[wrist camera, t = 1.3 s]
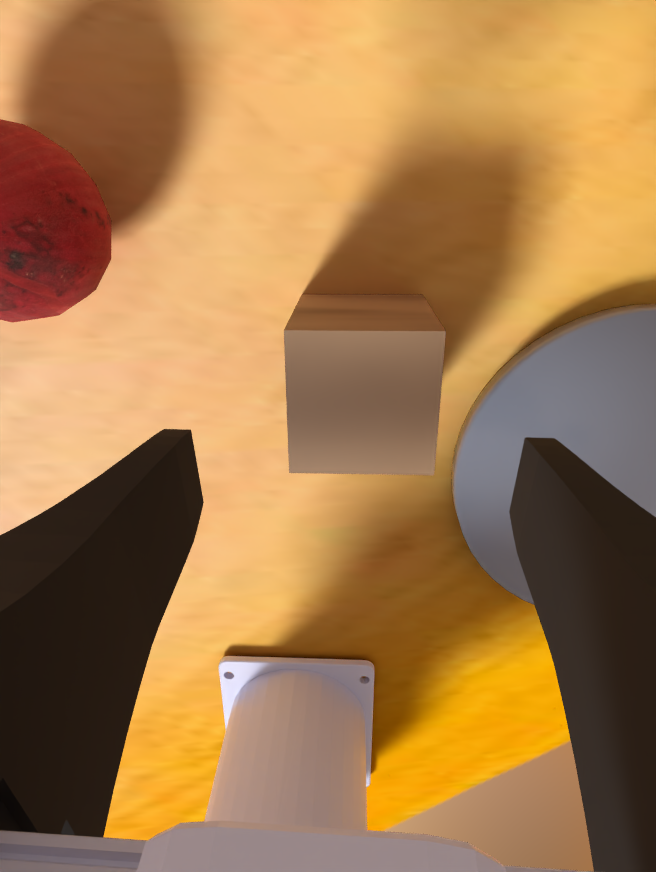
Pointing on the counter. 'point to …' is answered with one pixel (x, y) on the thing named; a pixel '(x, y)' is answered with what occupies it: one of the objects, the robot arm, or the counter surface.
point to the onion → (47, 227)
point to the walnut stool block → (363, 384)
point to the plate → (559, 425)
